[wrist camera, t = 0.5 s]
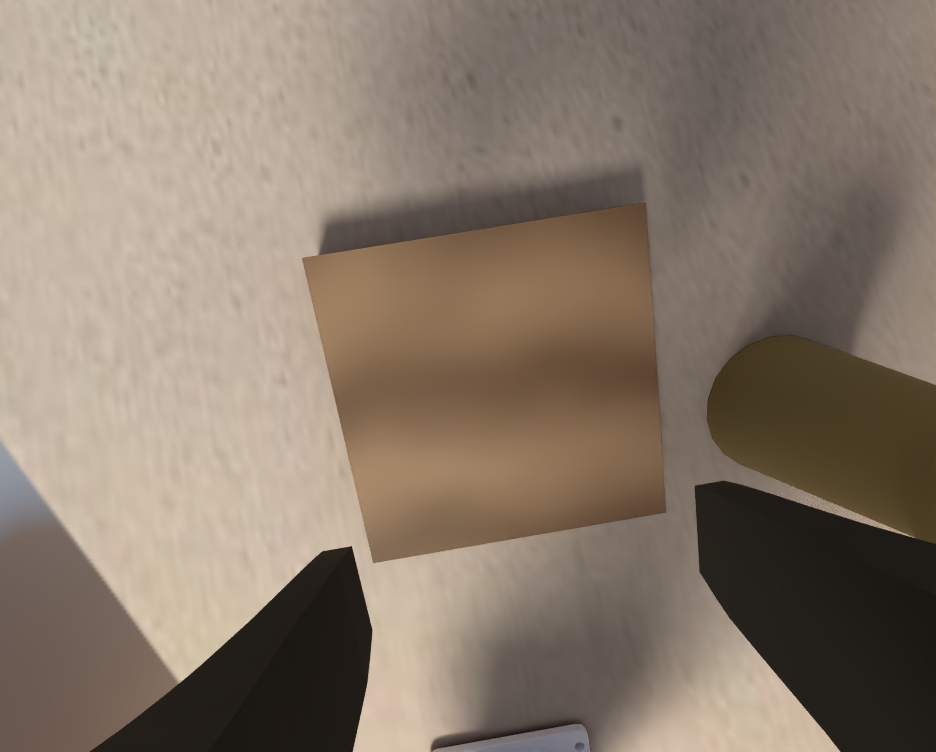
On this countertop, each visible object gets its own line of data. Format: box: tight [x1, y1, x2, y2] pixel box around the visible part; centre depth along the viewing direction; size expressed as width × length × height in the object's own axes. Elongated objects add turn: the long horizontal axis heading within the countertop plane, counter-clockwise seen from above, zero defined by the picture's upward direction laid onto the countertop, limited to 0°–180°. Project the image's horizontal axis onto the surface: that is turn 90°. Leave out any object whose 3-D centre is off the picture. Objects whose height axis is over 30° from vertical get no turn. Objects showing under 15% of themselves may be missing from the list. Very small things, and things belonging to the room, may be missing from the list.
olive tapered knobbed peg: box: [707, 335, 936, 544], centre depth 14 cm, size 6×6×11 cm
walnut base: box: [302, 203, 666, 563], centre depth 18 cm, size 12×12×2 cm
